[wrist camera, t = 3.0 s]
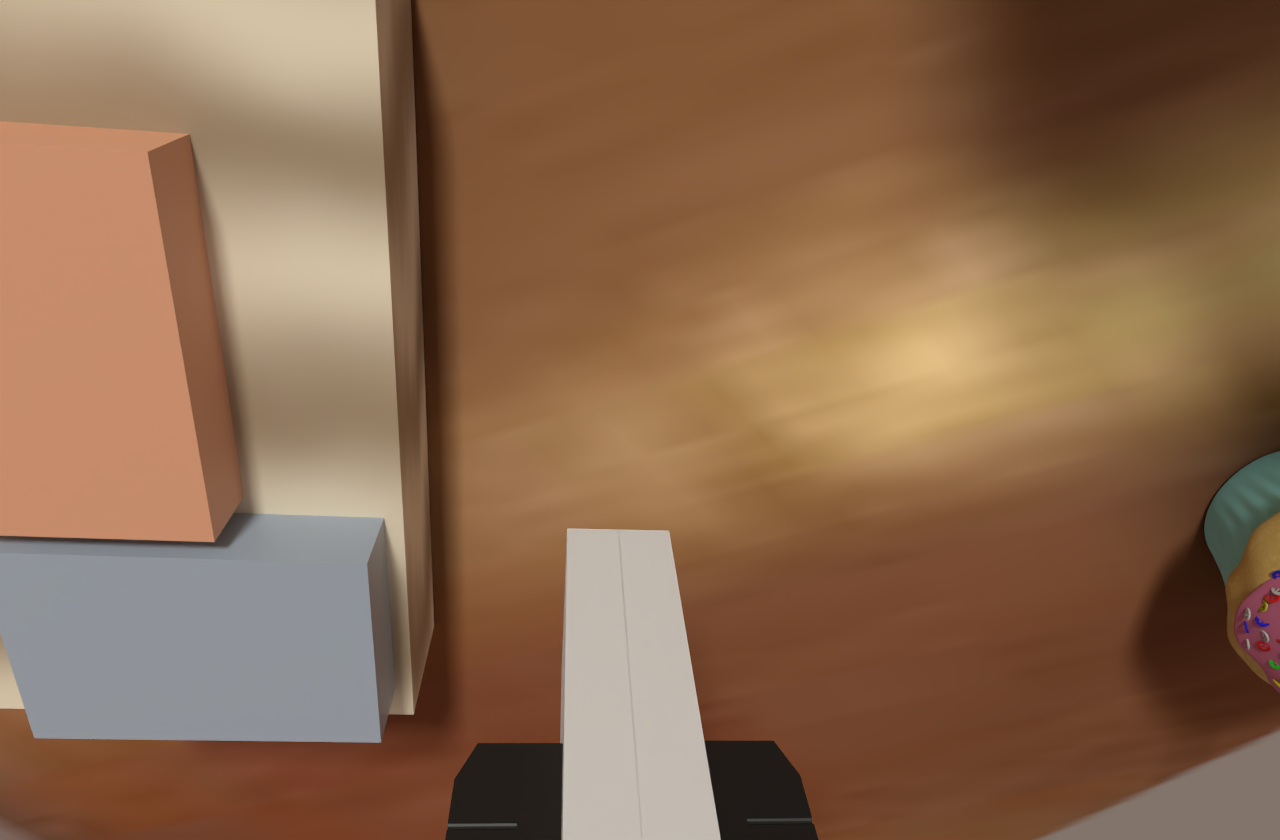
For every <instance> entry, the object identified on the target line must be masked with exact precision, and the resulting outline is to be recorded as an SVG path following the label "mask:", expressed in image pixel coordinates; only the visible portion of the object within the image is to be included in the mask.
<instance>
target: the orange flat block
mask: <svg viewBox="0 0 1280 840" xmlns="http://www.w3.org/2000/svg"><path fill="white" fill-rule="evenodd" d="M243 497H244V496H243V489H242V482H241V476H240V469H239V462H238V456H237V449H236V442H235V435H234V429H233V422H232V415H231V409H230V402H229V395H228V389H227V382H226V375H225V369H224V362H223V355H222V349H221V342H220V335H219V329H218V322H217V315H216V309H215V302H214V295H213V289H212V282H211V275H210V269H209V262H208V255H207V249H206V242H205V235H204V229H203V222H202V215H201V209H200V202H199V195H198V188H197V182H196V175H195V168H194V162H193V155H192V148H191V142H190V135H189V134H183V133H168V132H153V131H138V130H124V129H109V128H94V127H79V126H65V125H50V124H35V123H20V122H6V121H0V536H30V537H62V538H94V539H127V540H159V541H192V542H215V541H216V539H217V538H218V536H219V535H220V533H221V531H222V530H223V528H224V527H225V525H226V524H227V522H228V521H229V519H230V517H231V516H232V514H233V513H234V511H235V510H236V508H237V507H238V505H239V503H240V502H241V500H242V499H243Z"/></svg>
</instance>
